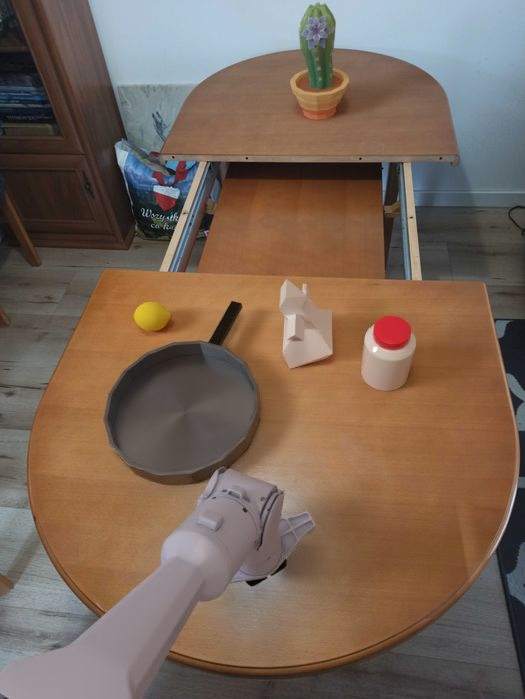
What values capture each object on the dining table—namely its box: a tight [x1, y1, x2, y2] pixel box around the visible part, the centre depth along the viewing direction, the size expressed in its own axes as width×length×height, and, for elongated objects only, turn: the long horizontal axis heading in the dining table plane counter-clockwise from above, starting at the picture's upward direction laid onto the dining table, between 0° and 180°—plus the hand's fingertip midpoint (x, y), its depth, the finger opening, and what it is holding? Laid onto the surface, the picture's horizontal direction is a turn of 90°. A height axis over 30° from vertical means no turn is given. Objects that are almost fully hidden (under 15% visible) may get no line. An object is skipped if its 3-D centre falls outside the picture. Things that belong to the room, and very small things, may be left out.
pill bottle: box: [359, 315, 417, 392], centre depth 78 cm, size 8×8×11 cm
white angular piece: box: [278, 278, 334, 369], centre depth 82 cm, size 8×14×14 cm, turn 176°
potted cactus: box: [289, 1, 351, 121], centre depth 124 cm, size 15×15×25 cm
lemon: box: [133, 301, 172, 332], centre depth 90 cm, size 7×5×5 cm
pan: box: [102, 300, 261, 486], centre depth 81 cm, size 34×24×4 cm
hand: (263, 568), depth 63 cm, fingers closed, pressing on beverage can
